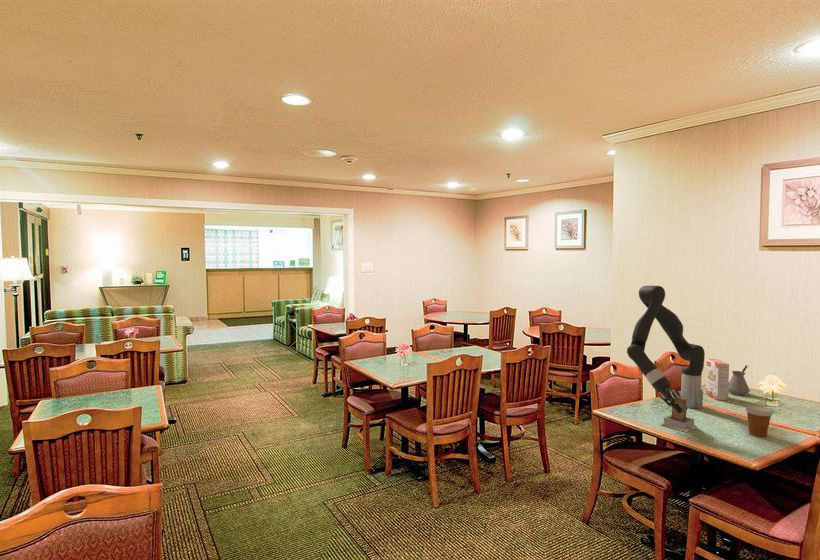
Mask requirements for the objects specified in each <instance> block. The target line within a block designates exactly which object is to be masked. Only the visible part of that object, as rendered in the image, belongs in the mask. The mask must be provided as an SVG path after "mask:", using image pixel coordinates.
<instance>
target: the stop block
mask: <svg viewBox="0 0 820 560" xmlns="http://www.w3.org/2000/svg"><path fill="white" fill-rule="evenodd" d="M674 400H675V401H676V403H677V404H678V405H679V407H680V408H681V409H682V410H683V412H681V413H678V412H677V411H676V410H675V408H674V407H672V406H671V415H672V418H671V419H674V420H678V421H684V420H686V417H687V410H686V406H687V399H686V398H682V397H674Z"/></svg>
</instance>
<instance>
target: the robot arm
mask: <svg viewBox="0 0 820 560" xmlns="http://www.w3.org/2000/svg"><path fill="white" fill-rule="evenodd" d="M638 297H639V299H640V302H641V303H642V304H644V306H645V307H646V308H647V309H646V310H645V312H644V313H643V315H641V316H640V318H639V319H638V320H637V322H636V324H635V325H634V329H633V331H632V336H631V342H630V345H629V346H628V347H627V349H626V353H627V356H628V358H629V359H631V361H633V363H635V365H636V366H637V367H638V370H640V371H641V373H642V375H643V376H644V377H645V378H646V380H647V381H648V383H649V384H650V385H651V386H652V388H653V389H654V390H655V392H657V393H661V394H660V395H659V398H660V399H662V400H663V401H664V403H666V405H667V406H668V407H671V408H672V407H674V408H675V410H676V411H677V412H678V413H681V412H683V410H682V409H681V408H680V407H679V405H678V404H677V403H676V401H675V400H674V397H682V398H686V399H687V406H686V411H687V410H688V409H702V408H703V403H704V402H703V401H704V399H703V398H704V389H702V381H703V380H702V379H703V378H702V377H703V370H704V366H705V349H704V348H703V346H702V345H698V344H695V343H690V342H688V341H687V340H686V338H685V337H684V325H683V322H682V321H681V320H680V319H679V317H678V316H677V314H676V313H674V311H672V310H671V309H669V308H667V307H666V306H664V305H663V303H664V301H665V299H666V291H665V289H664V287H663V286H661V285H644V286H641V287H639V290H638ZM655 319H656V321H657V322H658V323H659V326H660V327H661V328H662V330H663V332H664V333H665V334H666V335H667V337H668V338H669V339H670V341H671V343H672V344H673V346H674V348H675V350H676V352H677V354H678V355H679V357H680V358H681V359H682V360H684V361H689V365H688V366H684V367H682V368H681V379H680V380H681V387H680V389H681V390H680V392H679V390H678V389H674V388H672V387H671V386H672V383H671V382H670V380H669V379H668V378H667V377H666V376H665V374H664V373H663V371H661V370H660V369H659V368H658V367H657V366H656V365H655V363H654V362H653V361H652V360H651V359H650V358H649V357H648V355H647V354H646V352H645V349H646V345H647V343H646V342H647V341H648V339H649V335H650V332H651V329H652V325H653V323H654V321H655Z"/></svg>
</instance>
